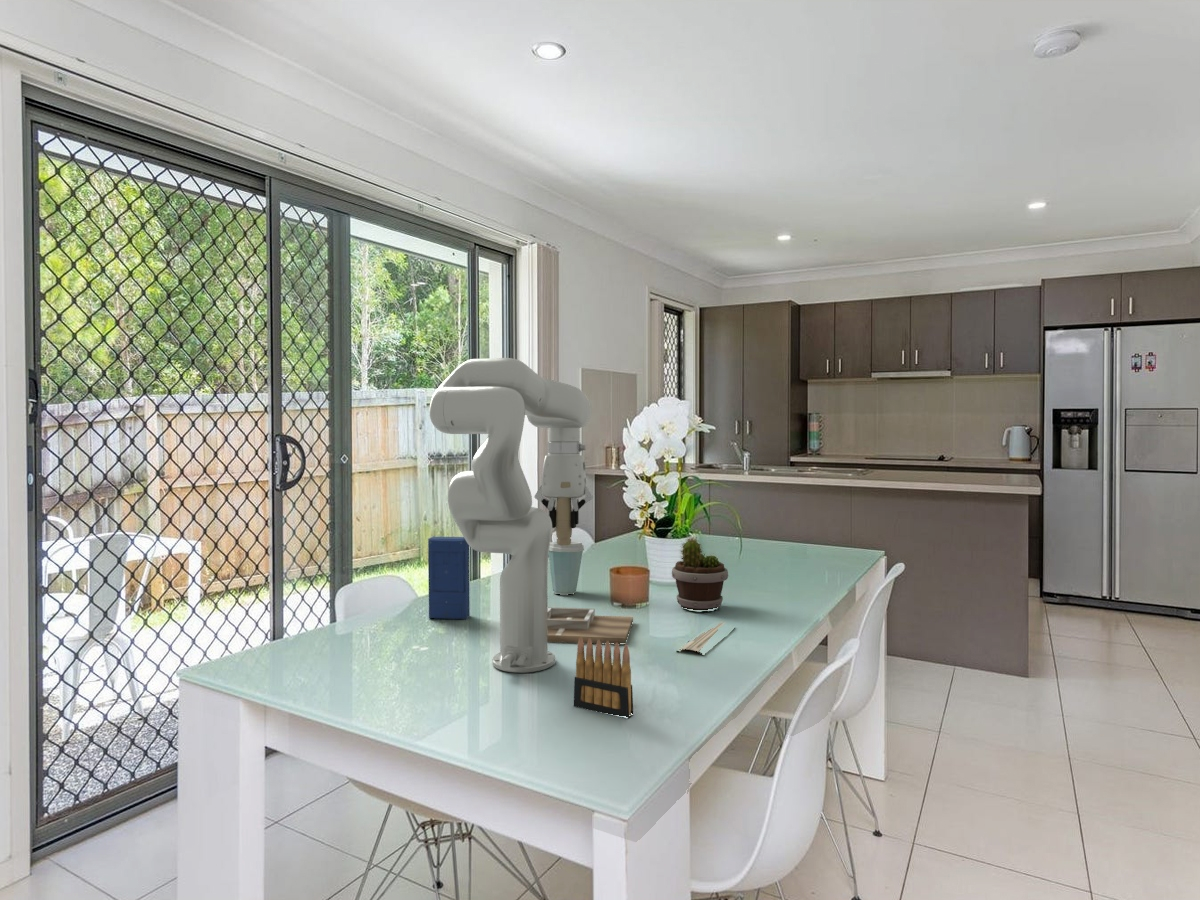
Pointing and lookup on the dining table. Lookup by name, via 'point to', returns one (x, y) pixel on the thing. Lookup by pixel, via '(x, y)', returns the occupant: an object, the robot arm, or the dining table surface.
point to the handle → (563, 518)
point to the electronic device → (448, 578)
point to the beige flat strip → (701, 639)
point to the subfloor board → (586, 626)
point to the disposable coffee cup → (565, 566)
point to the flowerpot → (698, 578)
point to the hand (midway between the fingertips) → (563, 526)
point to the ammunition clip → (603, 680)
